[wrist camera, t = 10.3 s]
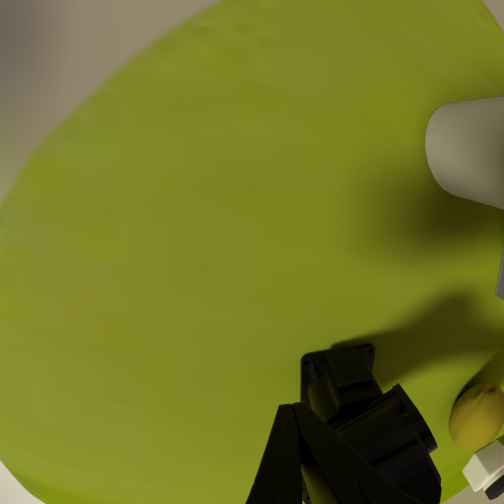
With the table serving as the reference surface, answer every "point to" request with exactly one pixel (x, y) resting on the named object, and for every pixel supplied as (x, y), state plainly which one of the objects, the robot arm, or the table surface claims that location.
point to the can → (469, 149)
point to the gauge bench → (501, 280)
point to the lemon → (477, 416)
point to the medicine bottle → (487, 470)
